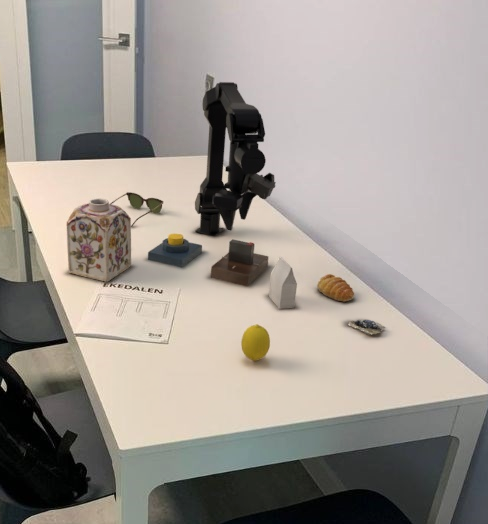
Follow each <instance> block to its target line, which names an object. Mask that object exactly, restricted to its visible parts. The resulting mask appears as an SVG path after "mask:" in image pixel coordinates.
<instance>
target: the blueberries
mask: <svg viewBox="0 0 488 524" xmlns="http://www.w3.org/2000/svg"><path fill="white" fill-rule="evenodd" d="M347 325H348V326H349V327H352V328H353V329H358V330H360V331H362V332H363V333H364V334H366V335H378V334H382V333H383V331H384V329H385V328H386V326H384V325H383V324H381V323H379V322H377V321H374V320H371V319H363V320H362V319H361V320H360V319H358V320H357V319H356V320H350V321H348V323H347ZM386 329H387V328H386Z"/></svg>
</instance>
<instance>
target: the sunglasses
mask: <svg viewBox="0 0 488 524" xmlns="http://www.w3.org/2000/svg"><path fill="white" fill-rule="evenodd" d="M125 196H127V198H128V199H127V201H128V202H129V203H130V206H131V207H132V208H134V209H137V210H138V209H139V210H140V209H141V208H142V206H143V205H144V202H145V205H146V207H147V208H148V209H149V211H147V212H146V213H143V214H142V215H140V216H139V217H137V218H136V219H135V220H134V222H132V223H131V228H132V227H133V226H134V225H135V224H136V222H137V221H138V220H140V219H141V218H143V217H144V216H146V215H148V214H150V213H152V214H160V213H161V212H162V209H163V205H164V200H161V199H159V198H156V197H148V198H144V197H143V196H142V195H140V194H138V193H135V192H127V191H126V192H125V193H124V194H122V195H121V196H119V197H118V198H115V200H113V201H112V202H109V204H112V205H113V204H114V203H115V202H116V201H118V200H119V199H121V198H123V197H125Z"/></svg>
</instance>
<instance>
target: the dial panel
mask: <svg viewBox="0 0 488 524" xmlns="http://www.w3.org/2000/svg"><path fill="white" fill-rule="evenodd" d="M228 256H229V252H227V253H226V254H225V255H223V256H221V258H220V259H219V260H218V261H217V262H215V263H214V264H213V265H211V267H210V278H211V279H216V280H220V281H224V282H227V283H232V284H237V285H241V286H245V287H249V286H250V285H251V284H253V282H254V281H255V280H256V279H257V278H258V277H259V276H260V275H261V274H262V273H263V272H264V271H265V270H266V269H267V268H268V265H269V256H268V255H264V254H259V253H255V252H254V256H253V263H252V264H250V265H249V264H244V263H240V262H235V261H230V260H228Z"/></svg>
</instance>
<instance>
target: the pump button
mask: <svg viewBox="0 0 488 524" xmlns="http://www.w3.org/2000/svg"><path fill="white" fill-rule="evenodd" d="M167 238H168V244H170V245H182V244H183V239H184V235H183V234H181V233H170V234H168V235H167Z"/></svg>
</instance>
